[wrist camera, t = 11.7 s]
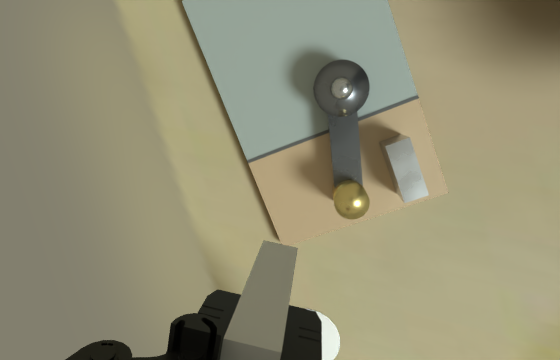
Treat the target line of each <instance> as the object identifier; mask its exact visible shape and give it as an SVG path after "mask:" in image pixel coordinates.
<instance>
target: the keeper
mask: <svg viewBox="0 0 560 360" xmlns="http://www.w3.org/2000/svg"><path fill="white" fill-rule="evenodd" d="M379 145H380V148H381V150H382V153H383V156H384V159H385V162H386V165H387V168H388V171H389V174H390V177H391V180H392V182H393V185H394V188H395V191H396V194H397V195H398V196H399V197H400V198H401V200H402V201H403V202H404V203H407V202H410V201H413V200H416V199H419V198H422V197H425V196H428V195H429V194H428V190H427V187H426V184H425V181H424V178H423V175H422V172H421V169H420V166H419V163H418V160H417V157H416V154H415V151H414V148H413V145H412V142H411V139H410V137H408V136H405V135H402V134H399V135H396V136H394V137H391V138H388V139H386V140H383V141H380V142H379Z"/></svg>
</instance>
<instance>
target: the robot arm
mask: <svg viewBox="0 0 560 360" xmlns="http://www.w3.org/2000/svg"><path fill="white" fill-rule="evenodd" d="M297 249H298V248H296V247H291V246H287V245H282V244H278V243H273V242H269V241H263V243H262V246H261V248H260V251H259V253H258V255H257V258H256V260H255V263H254V265H253V268H252V270H251V273H250V275H249V277H248V280H247V282H246V285H245V287H244V290H243V292H242V295H239V294H235V293H231V292H226V291H222V290H216V291H214V292H213V293H211V294H210V295H208V296H207V298H206V299H205V301H204V303H203V305H202V307H201V308H200V310H199V312H198V314H197V313H193V314H186V315H183V316H180V317H178V318H177V319H175V320H174V321H173V322H172V323H171V327H170V334H169V341H168V349H167V352H166V354H164V355H161V356H157V357H136V358H132V353H131V350H130V348H129V347H128V346H127V345H125V344H124V343H122V342H118V341H115V340H103V341H98V342H94V343H91V344H89V345H87V346H85V347H83V348H81V349H80V350H79V351H77V352H76V353H74V354H73V355H71V356H70V357H69V358H67V359H66V360H322V321H321V320H320V318H319V316H318V315H317V313H316V311H312V310H307V309H303V308H299V307H295V306H290V305H289V301H290V294H291V288H292V281H293V275H294V268H295V262H296V255H297Z"/></svg>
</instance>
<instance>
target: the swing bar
mask: <svg viewBox="0 0 560 360" xmlns="http://www.w3.org/2000/svg"><path fill="white" fill-rule="evenodd" d="M369 89H370V85H369V79H368V76H367V74H366V72H365V71H364V70H363V68H362V67H361V66H360V65H358V64H357V63H355V62H353V61H350V60H343V59H342V60H335V61H332V62H330V63H328V64H327V65H325V66H324V67H323V68H322V69H321V70H320V71H319V73H318V74H317V76H316V78H315V81H314V87H313V92H314V97H315V100H316V102H317V104H318V106H319V107H320V108H321V109H322V110H323V111H324V112H326V113H327V115H328V126H329V137H330V148H331V159H332V170H333V181H334V185H333V188H332V193H333V200H334V206H335V209H336V211H337V213H338V214H339V215H340V216H342V217H343V218H346V219H350V220H354V219H358V218H360V217H362V216H363V215H364V214H365V213H366V212H367V211H368V209H369V205H370V200H369V197H368V194H367V193H366V191H365V189H364V187H363V180H362V167H361V154H360V140H359V127H358V113H357V111H358V110H359V109H360V108H361V107H362V106H363V105H364V104H365V102H366V100H367V98H368V95H369Z"/></svg>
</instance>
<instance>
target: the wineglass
mask: <svg viewBox="0 0 560 360" xmlns="http://www.w3.org/2000/svg"><path fill="white" fill-rule="evenodd" d="M307 310H310V309H307ZM312 311H314V310H312ZM316 313H317V315H318V316H319V318H320V320H321V321H322V360H333V359H334V358H335V357H336V356H337V353H338V350H339V347H340V336H339V333H338V331H337V328H336V326H335V325H334V324H333V323H332V321H331V320H330V319H329V318H328V317H326V316H325V315H323V314H321V313H320V312H317V311H316Z"/></svg>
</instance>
